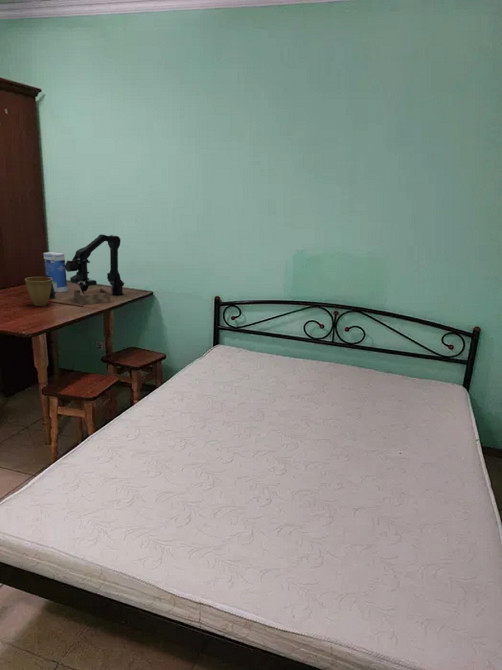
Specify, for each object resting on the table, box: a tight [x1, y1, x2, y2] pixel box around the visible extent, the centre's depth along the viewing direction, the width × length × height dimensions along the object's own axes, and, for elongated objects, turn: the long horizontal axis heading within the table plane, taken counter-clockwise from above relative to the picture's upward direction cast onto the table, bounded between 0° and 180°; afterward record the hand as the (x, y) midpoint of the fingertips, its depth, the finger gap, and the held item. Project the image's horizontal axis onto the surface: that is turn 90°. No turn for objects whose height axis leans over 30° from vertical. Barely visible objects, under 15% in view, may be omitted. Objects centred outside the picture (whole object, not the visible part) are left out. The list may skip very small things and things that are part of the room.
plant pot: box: [24, 276, 52, 307], centre depth 282 cm, size 15×15×16 cm
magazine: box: [43, 274, 57, 300], centre depth 300 cm, size 4×13×15 cm, turn 92°
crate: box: [73, 287, 111, 306], centre depth 298 cm, size 18×16×6 cm
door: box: [83, 287, 101, 295], centre depth 304 cm, size 12×1×6 cm, turn 148°
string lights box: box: [42, 251, 68, 293], centre depth 319 cm, size 13×8×26 cm, turn 58°
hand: (84, 294), depth 300 cm, fingers closed
